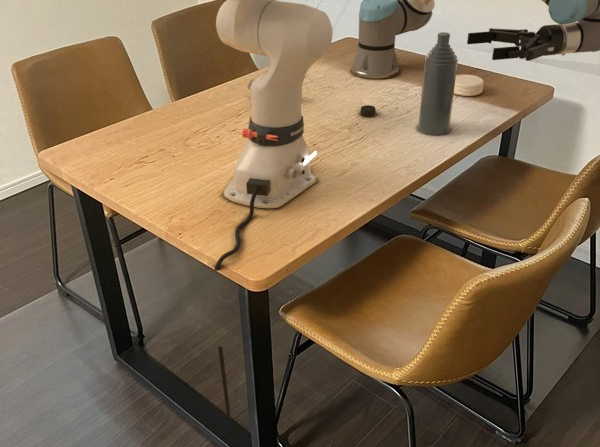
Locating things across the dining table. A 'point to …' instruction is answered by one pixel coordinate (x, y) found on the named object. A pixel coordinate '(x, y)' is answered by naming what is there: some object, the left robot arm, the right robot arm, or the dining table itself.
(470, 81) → the cream round disc
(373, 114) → the cap
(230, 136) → the dining table surface
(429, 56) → the bottle
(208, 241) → the dining table surface
